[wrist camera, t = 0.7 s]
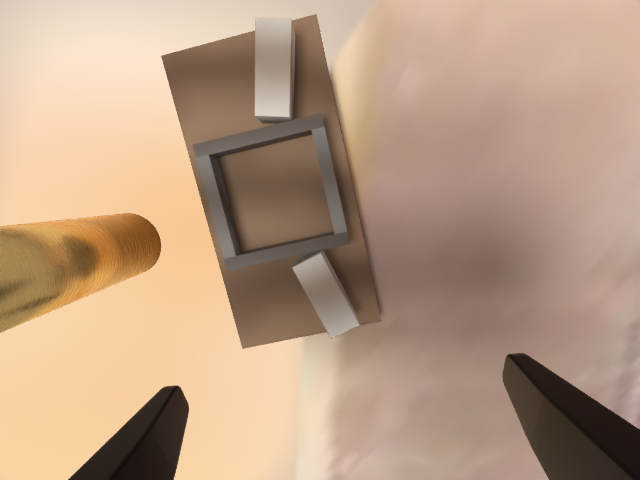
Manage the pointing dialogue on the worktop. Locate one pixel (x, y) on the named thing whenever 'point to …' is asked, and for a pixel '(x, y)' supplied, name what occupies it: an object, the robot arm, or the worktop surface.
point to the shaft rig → (275, 181)
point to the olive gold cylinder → (69, 261)
